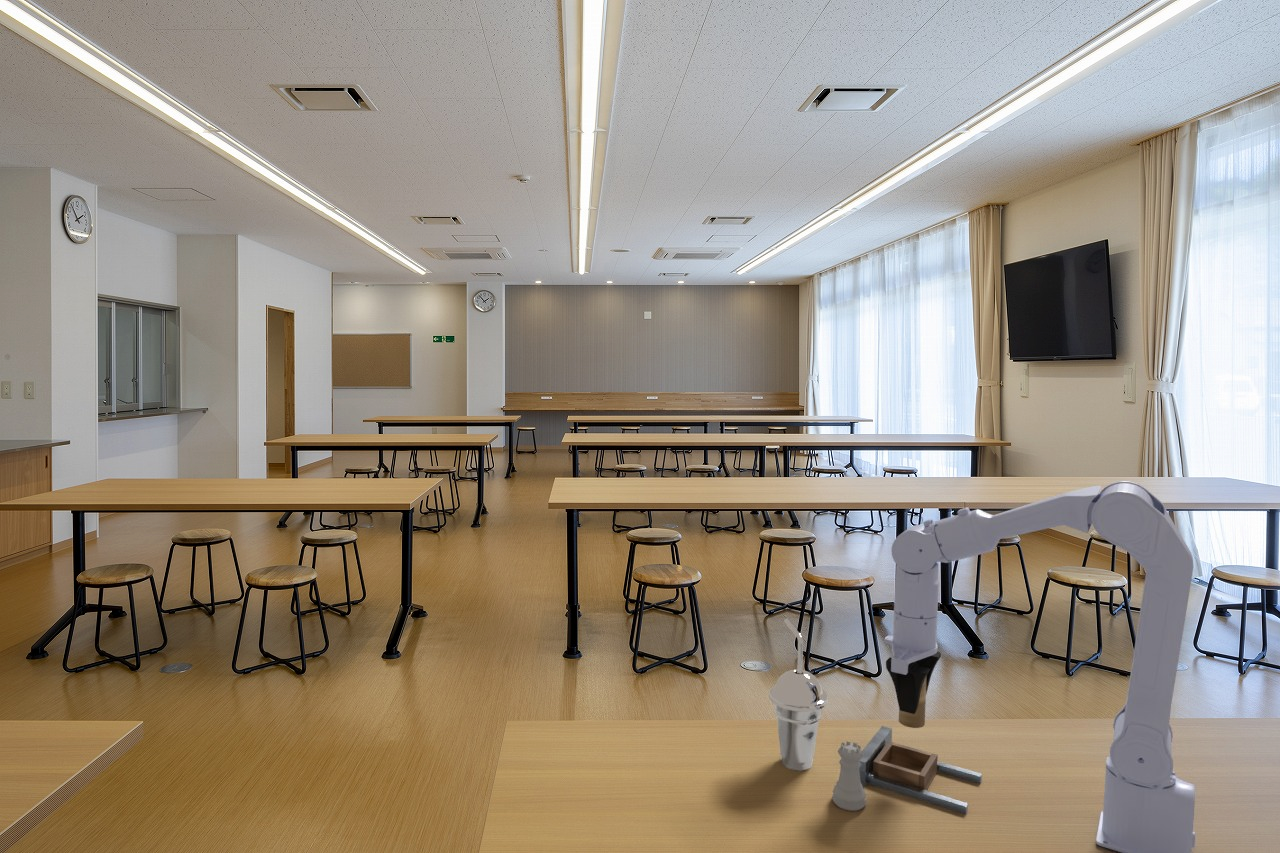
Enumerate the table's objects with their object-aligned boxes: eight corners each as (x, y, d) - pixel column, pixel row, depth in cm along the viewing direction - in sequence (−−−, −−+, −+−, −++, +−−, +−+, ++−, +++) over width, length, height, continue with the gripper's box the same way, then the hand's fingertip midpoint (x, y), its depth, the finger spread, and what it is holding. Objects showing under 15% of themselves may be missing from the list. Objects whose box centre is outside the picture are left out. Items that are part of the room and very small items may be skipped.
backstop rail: (983, 777, 112) (984, 753, 112) (964, 818, 102) (965, 792, 102) (881, 747, 120) (882, 725, 120) (854, 783, 110) (855, 759, 110)
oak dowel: (927, 720, 112) (929, 669, 111) (921, 730, 109) (923, 677, 108) (902, 714, 114) (903, 664, 113) (895, 723, 111) (897, 672, 110)
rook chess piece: (867, 814, 103) (869, 755, 102) (832, 810, 104) (833, 752, 103) (865, 795, 107) (866, 739, 106) (831, 791, 108) (832, 735, 107)
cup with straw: (765, 773, 113) (767, 637, 111) (770, 743, 121) (772, 616, 119) (826, 781, 111) (830, 643, 109) (826, 749, 119) (830, 621, 117)
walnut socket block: (937, 772, 113) (937, 754, 113) (923, 794, 107) (924, 776, 107) (888, 757, 117) (888, 741, 117) (872, 779, 111) (873, 761, 111)
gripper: (901, 593, 118) (898, 681, 120) (870, 621, 106) (866, 717, 108) (951, 602, 114) (947, 692, 116) (923, 631, 102) (919, 732, 104)
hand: (911, 705), depth 111 cm, fingers closed on oak dowel, 3 cm apart
